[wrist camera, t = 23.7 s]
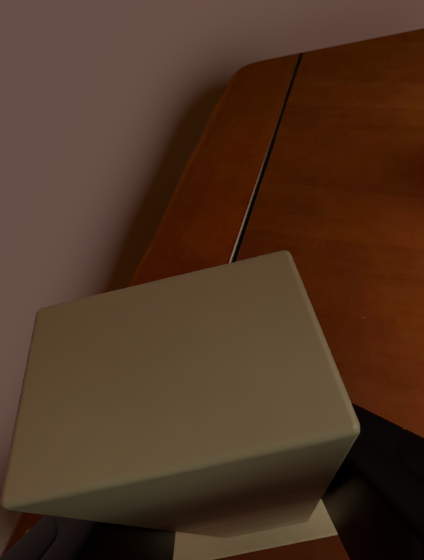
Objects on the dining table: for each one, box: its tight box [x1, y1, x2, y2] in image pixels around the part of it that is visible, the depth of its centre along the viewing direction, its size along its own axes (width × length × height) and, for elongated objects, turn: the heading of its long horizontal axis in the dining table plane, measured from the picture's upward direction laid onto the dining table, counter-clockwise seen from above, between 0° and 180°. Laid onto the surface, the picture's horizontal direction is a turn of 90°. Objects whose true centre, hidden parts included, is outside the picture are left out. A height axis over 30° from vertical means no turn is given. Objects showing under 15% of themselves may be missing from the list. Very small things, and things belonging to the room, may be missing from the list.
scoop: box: [0, 250, 360, 560], centre depth 10 cm, size 10×7×13 cm
